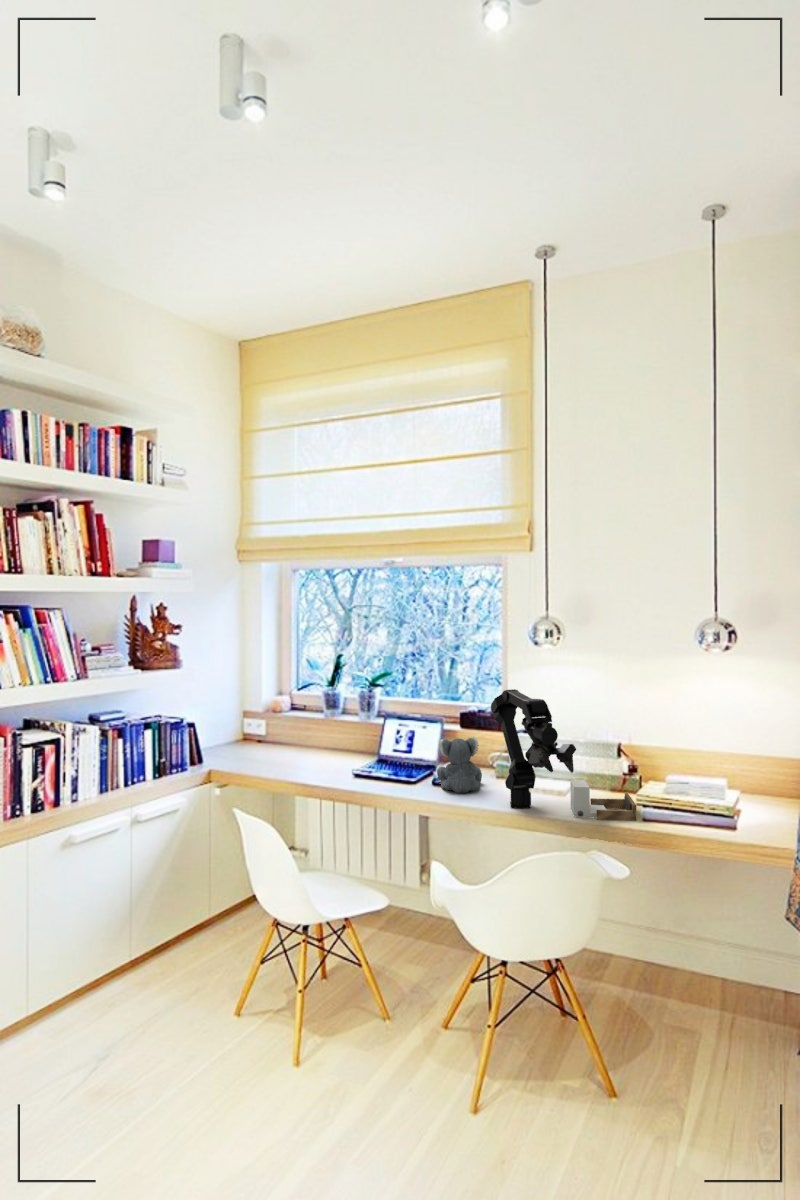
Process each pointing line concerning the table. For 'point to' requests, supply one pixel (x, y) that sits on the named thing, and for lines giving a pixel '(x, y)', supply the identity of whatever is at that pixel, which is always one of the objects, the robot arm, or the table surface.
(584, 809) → the grey block with dot
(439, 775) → the koala plush
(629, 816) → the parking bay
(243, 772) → the table surface
